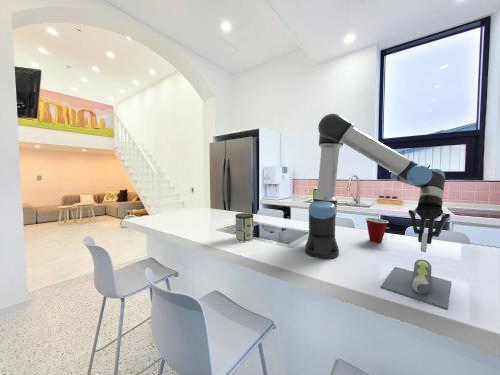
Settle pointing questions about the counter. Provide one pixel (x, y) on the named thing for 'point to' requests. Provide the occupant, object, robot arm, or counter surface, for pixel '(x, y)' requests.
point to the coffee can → (244, 227)
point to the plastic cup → (376, 229)
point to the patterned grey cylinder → (421, 276)
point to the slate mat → (403, 283)
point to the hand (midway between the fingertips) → (423, 250)
